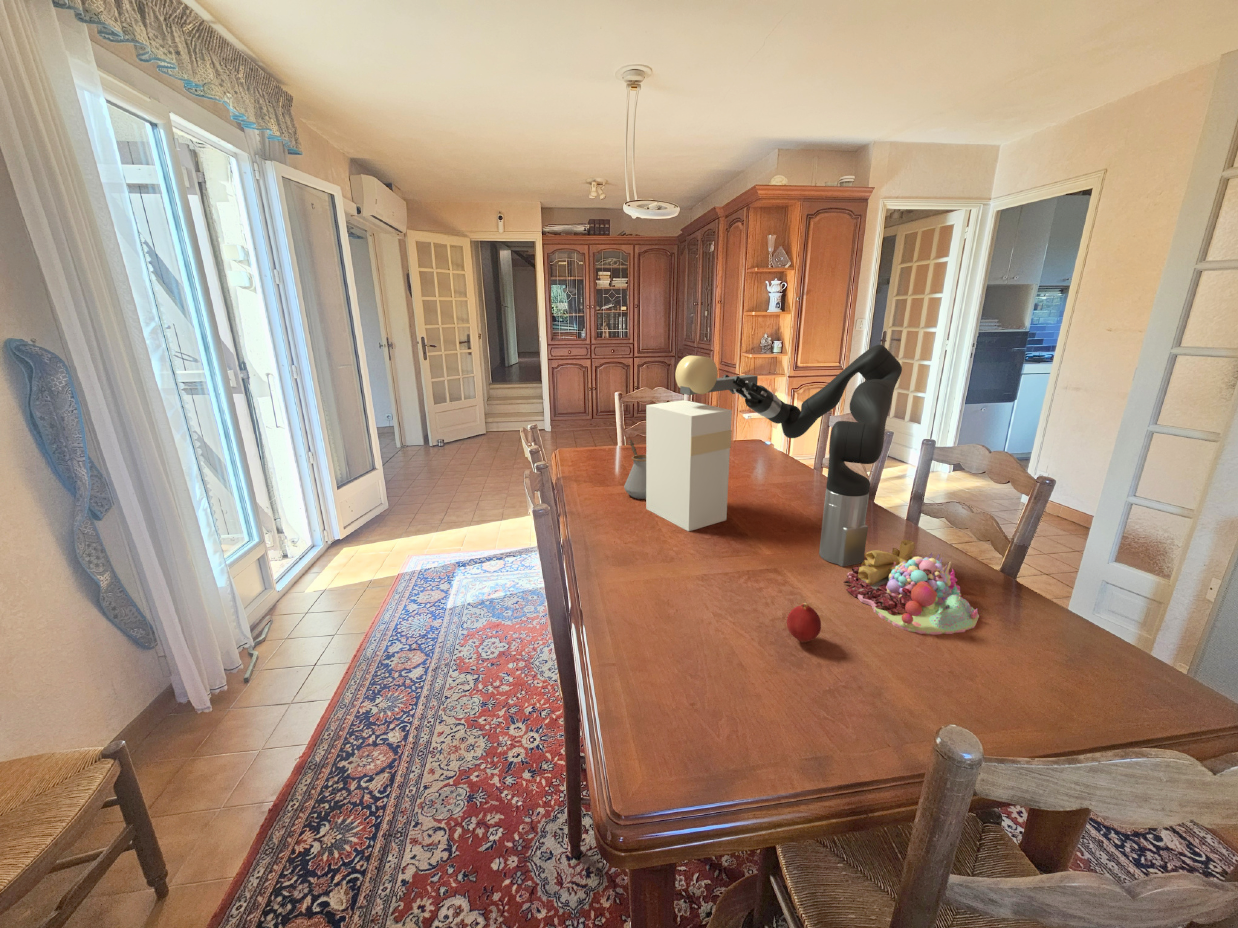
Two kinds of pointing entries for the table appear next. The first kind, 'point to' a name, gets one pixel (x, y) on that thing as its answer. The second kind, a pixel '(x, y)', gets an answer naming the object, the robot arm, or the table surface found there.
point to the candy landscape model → (912, 591)
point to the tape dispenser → (704, 376)
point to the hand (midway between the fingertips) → (729, 378)
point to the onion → (804, 623)
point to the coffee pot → (637, 476)
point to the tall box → (687, 462)
